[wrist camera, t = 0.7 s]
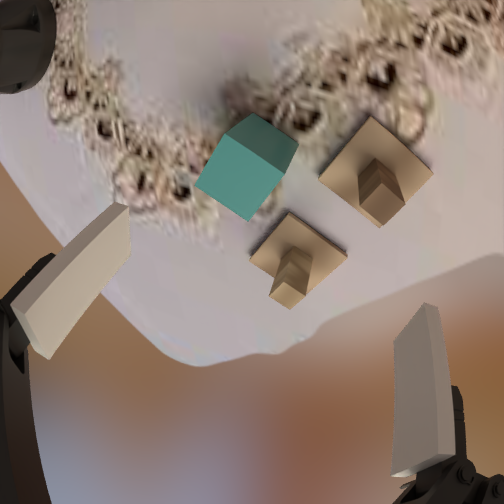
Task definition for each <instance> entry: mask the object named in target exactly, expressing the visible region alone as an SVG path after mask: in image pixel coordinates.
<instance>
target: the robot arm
mask: <svg viewBox="0 0 504 504" xmlns="http://www.w3.org/2000/svg"><path fill="white" fill-rule="evenodd" d="M55 38H56V20H55V14H54V10H53V7H52V5H51V3H50V1H49V0H3V1H1V2H0V94H15V93H19V92H21V91H24V90H27V89H30V88H32V87H33V86H34V85H36V84H37V83H38V82H39V81H40V79H41V78H42V77H43V75H44V74H45V72H46V70H47V68H48V66H49V63H50V60H51V57H52V54H53V50H54V45H55ZM130 255H131V245H130V227H129V206H126V205H123V204H120V203H117V202H114V203H113V204H112V205H110V206H109V207H108V208H107V209H106V210H105V211H104V212H102V213H101V214H100V215H99V216H98V217H97V218H96V219H94V220H93V221H92V222H91V223H90V224H89V225H88V226H87V227H86V228H85V229H83V230H82V231H81V232H80V233H79V234H78V235H77V236H76V237H75V238H74V239H73V240H72V241H71V242H70V243H69V244H68V245H66V246H65V247H64V249H62V250H61V251H60V252H59V253H58V254H57V255H55V254H53V253H50V254H48V255H46V256H44V257H42V258H40V259H39V260H38V261H37V262H36V263H35V264H34V265H33V266H32V268H31V269H29V270H28V271H27V272H26V273H25V276H23V277H22V278H21V279H20V280H19V281H18V282H17V283H16V284H15V285H14V286H13V287H12V288H11V289H10V290H9V292H8V293H7V294H6V295H5V296H4V297H3V298H2V299H1V300H0V504H52V503H51V500H50V496H49V493H48V489H47V485H46V481H45V477H44V473H43V469H42V464H41V459H40V454H39V449H38V444H37V438H36V432H35V425H34V418H33V410H32V401H31V391H30V380H29V361H28V350H27V346H28V345H29V343H31V345H32V346H33V348H34V350H35V351H36V352H38V353H39V354H41V355H42V356H44V357H45V358H47V359H48V360H49V359H50V358H51V356H52V355H53V354H54V352H55V351H56V349H57V348H58V346H59V345H60V344H61V343H62V341H63V340H64V338H65V337H66V336H67V334H68V333H69V332H70V330H71V329H72V328H73V326H74V325H75V324H76V322H77V321H78V320H79V318H80V317H81V316H82V314H83V313H84V312H85V311H86V309H87V308H88V307H89V305H90V304H91V303H92V302H93V300H94V299H95V298H96V297H97V295H98V294H99V293H100V292H101V290H102V289H103V288H104V287H105V285H106V284H107V283H108V282H109V281H110V279H111V278H112V277H113V276H114V274H115V273H116V272H117V271H118V270H119V268H120V267H121V266H122V265H123V264H124V262H125V261H126V260H127V259H128V258H129V257H130ZM394 366H395V408H394V436H393V452H392V465H391V475H390V476H395V477H409V476H411V475H413V474H416V473H417V475H416V480H413V481H411V482H408V483H406V484H403V485H402V486H401V487H400V488H401V489H403V488H406V487H407V488H406V490H405V491H404V492H403V493H402V494H401V495H400V496H399V497H398V498H397V499H396V501H395V502H394V503H393V504H504V476H503V475H500V474H497V475H494V476H492V477H490V478H487V477H485V476H483V475H481V474H479V473H476V469H475V466H474V464H473V463H472V462H471V461H470V460H468V459H467V455H466V435H465V422H464V413H463V410H464V409H463V400H462V396H461V394H460V391H459V389H458V387H457V386H452V385H451V382H450V374H449V366H448V360H447V353H446V347H445V341H444V335H443V330H442V325H441V320H440V314H439V310H438V307H436V306H433V305H430V304H427V303H423V305H422V306H421V307H420V309H419V310H418V311H417V313H416V314H415V315H414V316H413V318H412V319H411V320H410V322H409V323H408V324H407V325H406V327H405V328H404V329H403V330H402V332H401V333H400V334H399V335H398V336H397V338H396V339H395V340H394Z"/></svg>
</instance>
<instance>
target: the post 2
mask: <svg viewBox="0 0 504 504" xmlns="http://www.w3.org/2000/svg"><path fill="white" fill-rule="evenodd" d="M432 175H433V172H432V171H431V170H430V169H429V168H428V167H427V166H426V165H425V164H424V163H423V162H422V161H421V160H420V159H419V158H418V157H417V156H416V155H414V154H413V153H412V152H411V151H410V150H409V149H408V148H407V147H406V146H405V145H404V144H403V143H402V142H400V141H399V140H398V139H397V138H396V137H395V136H394V135H393V134H391V133H390V132H389V131H388V130H387V129H386V128H384V127H383V126H382V125H381V124H380V123H379V122H377V121H376V120H375V119H374V118H373V117H371V116H370V117H369V118H368V119H367V120H366V121H365V123H364V124H363V125H362V126H361V127H360V129H359V130H358V131H357V132H356V133H355V134H354V136H353V137H352V138H351V139H350V140H349V142H348V143H347V144H346V145H345V146H344V148H343V149H342V150H341V151H340V152H339V153H338V155H337V156H336V157H335V158H334V159H333V161H332V162H331V163H330V164H329V165H328V166H327V168H326V169H325V170H324V171H323V172H322V174H321V175H320V176H319V177H318V180H319V181H320V182H321V183H323V184H324V185H325V186H327V187H328V188H329V189H331V190H332V191H333V192H335V193H336V194H337V195H338V196H340V197H341V198H342V199H344V200H345V201H346V202H347V203H349V204H350V205H351V206H352V207H354V208H355V209H356V210H357V211H359V212H360V213H361V214H362V215H364V216H365V217H366V218H367V219H369V220H370V221H371V222H372V223H373V224H375V225H376V226H377V227H378V228H380V227H381V226H382V225H383V226H384V225H385V224H386V223H387V222H388V221H389V220H390V219H391V218H392V217H393V216H394V215H395V214H396V213H397V212H398V211H399V210H400V209H401V208H402V207H403V206H404V205H405V203H406V202H407V201H408V200H409V199H410V198H411V197H412V196H413V195H414V194H415V193H416V192H417V191H418V190H419V189H420V188H421V187H422V186H423V185H424V184H425V183H426V181H427V180H428V179H429V178H430V177H431V176H432Z"/></svg>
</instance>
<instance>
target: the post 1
mask: <svg viewBox="0 0 504 504" xmlns="http://www.w3.org/2000/svg"><path fill="white" fill-rule="evenodd" d="M347 256H348V255H347V254H346V253H345V252H343V251H342V250H341V249H339V248H338V247H337V246H335V245H334V244H333V243H331V242H330V241H329V240H327V239H326V238H325V237H323V236H322V235H320V234H319V233H318V232H316V231H315V230H314V229H312V228H311V227H310V226H308V225H307V224H305V223H304V222H303V221H301V220H300V219H298V218H297V217H296V216H294V215H293V214H291V213H290V212H289V213H288V214H287V215H286V216H285V217H284V219H283V220H282V221H281V222H280V223H279V225H278V226H277V227H276V228H275V229H274V230H273V232H272V233H271V234H270V235H269V236H268V238H267V239H266V240H265V241H264V242H263V243H262V245H261V246H260V247H259V248H258V249H257V251H256V252H255V253H254V254H253V255H252V256H251V258H250V260H249V261H250V262H251V263H253V264H254V265H256V266H257V267H259V268H260V269H262V270H263V271H265V272H266V273H268V274H269V275H271V276H272V277H274V278H275V279H274V282H273V285H272V288H271V291H270V294H269V297H271V298H272V299H274V300H275V301H277V302H279V303H280V304H282V305H283V306H285V307H286V308H288V309H289V310H290V309H291V308H292V307H294V306H295V305H296V304H297V303H298V302H299V301H301V300H302V299H303V298H304V297H305V296H306V294H307V293H309V292H310V291H311V290H312V289H313V288H314V287H315V286H317V285H318V284H319V283H320V282H321V281H322V280H323V279H325V278H326V277H327V276H328V275H329V274H330V273H331V272H332V271H334V270H335V269H336V268H337V267H338V266H339V265H340V264H341V263H342V262H343V261H345V260H346V259H347Z"/></svg>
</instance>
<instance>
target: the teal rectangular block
mask: <svg viewBox="0 0 504 504" xmlns="http://www.w3.org/2000/svg"><path fill="white" fill-rule="evenodd" d="M298 145H299V144H298V143H297V142H295V141H294V140H293V139H291V138H290V137H288V136H287V135H285V134H284V133H283V132H281V131H280V130H278V129H277V128H275V127H274V126H272V125H271V124H269V123H268V122H266V121H265V120H263V119H262V118H260V117H259V116H257V115H256V114H254V113H252V114H251V115H249V116H248V117H246V118H245V119H244V120H242V121H241V122H240V123H238V124H237V125H235V126H234V127H233V128H231V129H230V130H229V131H227V132H226V133H225V134H224V135H223V137H222V139H221V140H220V142H219V144H218V145H217V147H216V149H215V150H214V152H213V154H212V156H211V157H210V159H209V161H208V162H207V164H206V166H205V168H204V169H203V171H202V173H201V175H200V176H199V178H198V180H197V182H196V184H195V185H194V186H196V187H197V188H199V189H200V190H202V191H203V192H205V193H206V194H208V195H209V196H211V197H212V198H214V199H215V200H217V201H218V202H220V203H221V204H223V205H224V206H226V207H227V208H229V209H230V210H232V211H233V212H235V213H236V214H237V215H239V216H240V217H242V218H243V219H245V220H246V221H248V222H249V220H250V219H251V218H252V216H253V215H254V214H255V212H256V211H257V210H258V208H259V207H260V206H261V204H262V203H263V202H264V201H265V199H266V198H267V197H268V195H269V194H270V193H271V191H272V190H273V189H274V187H275V186H276V185H277V184H278V182H279V181H280V180H281V178H282V177H283V176H284V174H285V173H286V170H287V168H288V166H289V164H290V162H291V160H292V158H293V156H294V154H295V152H296V150H297V148H298Z"/></svg>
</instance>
